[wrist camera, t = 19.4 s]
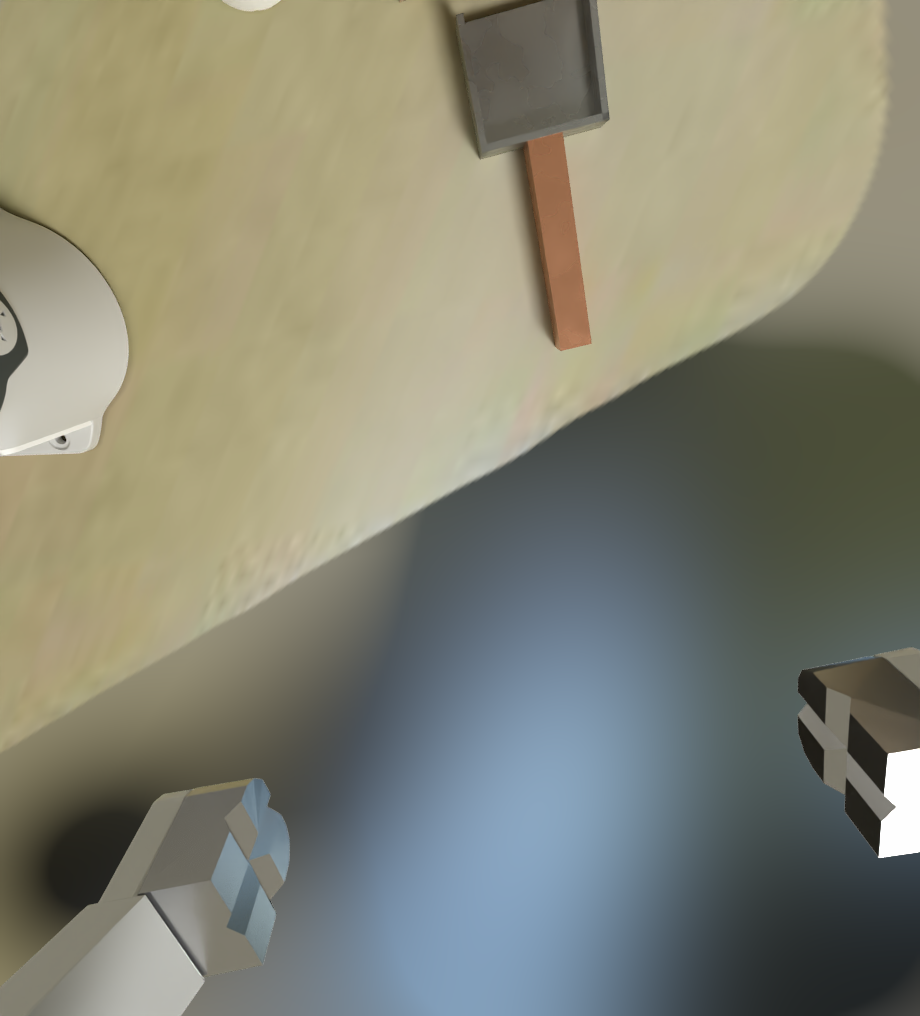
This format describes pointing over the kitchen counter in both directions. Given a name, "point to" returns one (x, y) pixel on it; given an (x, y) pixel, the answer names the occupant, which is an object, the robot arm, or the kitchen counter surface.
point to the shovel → (541, 124)
